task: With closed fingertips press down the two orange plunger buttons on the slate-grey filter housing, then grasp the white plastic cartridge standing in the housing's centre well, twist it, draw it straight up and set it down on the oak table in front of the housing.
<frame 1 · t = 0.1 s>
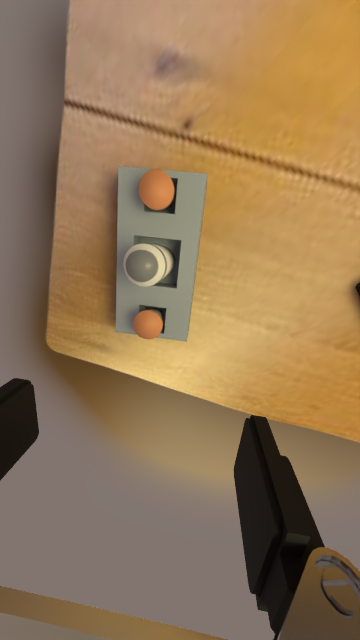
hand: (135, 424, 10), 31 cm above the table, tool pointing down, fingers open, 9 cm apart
plunger b: (151, 320, 35), point 6 cm above the table, slide at 0.0 cm
plunger a: (159, 194, 30), point 6 cm above the table, slide at 0.0 cm
cartridge: (160, 261, 37), point 1 cm above the table, touching housing
housing: (161, 260, 38), on the table
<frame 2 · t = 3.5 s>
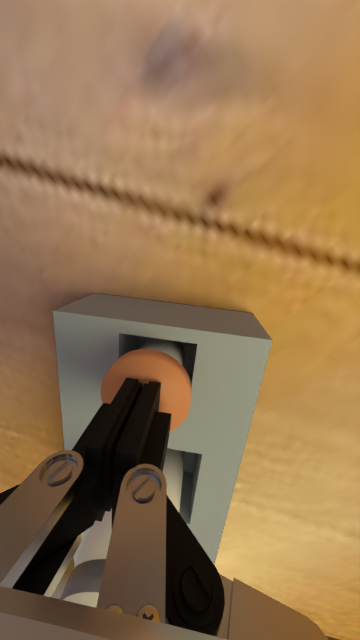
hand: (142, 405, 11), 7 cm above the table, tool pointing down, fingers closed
plunger a: (155, 371, 13), point 5 cm above the table, slide at 0.6 cm, touching gripper
cartridge: (157, 437, 20), point 1 cm above the table, touching housing
housing: (160, 428, 20), on the table
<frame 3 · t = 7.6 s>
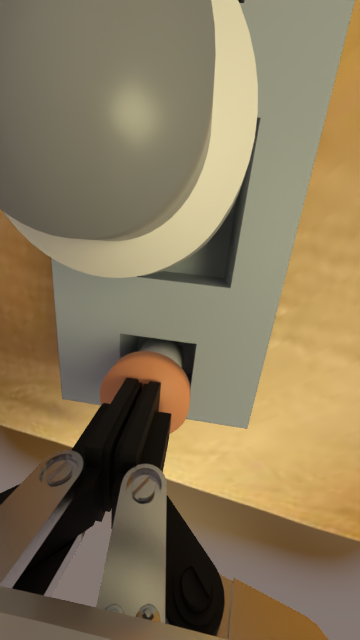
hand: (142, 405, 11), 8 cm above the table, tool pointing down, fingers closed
plunger b: (154, 373, 13), point 5 cm above the table, slide at 0.4 cm, touching gripper
cartridge: (177, 216, 14), point 1 cm above the table, touching housing
housing: (179, 218, 15), on the table
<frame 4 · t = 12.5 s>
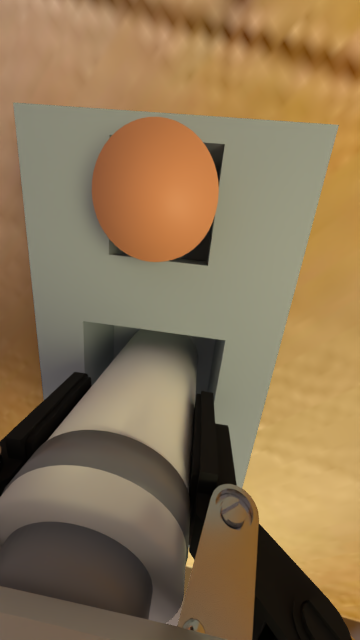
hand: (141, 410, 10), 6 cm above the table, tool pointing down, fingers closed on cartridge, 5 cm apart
plunger a: (165, 208, 10), point 4 cm above the table, slide at 1.5 cm
cartridge: (161, 357, 16), point 1 cm above the table, touching gripper, housing
housing: (164, 351, 17), on the table
when the fingers open (7 cm above the table, at t = 20.7 s): cartridge drops 1 cm, on the table.
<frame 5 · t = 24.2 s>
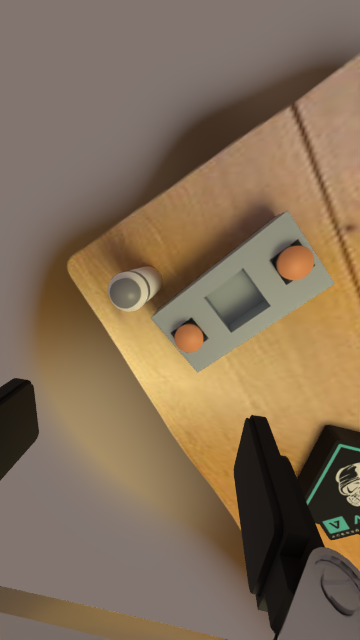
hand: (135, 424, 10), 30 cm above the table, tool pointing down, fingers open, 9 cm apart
plunger b: (189, 333, 36), point 4 cm above the table, slide at 1.5 cm
plunger a: (289, 262, 31), point 4 cm above the table, slide at 1.5 cm
cartridge: (148, 281, 38), on the table
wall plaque: (354, 474, 47), on the table
housing: (232, 295, 38), on the table
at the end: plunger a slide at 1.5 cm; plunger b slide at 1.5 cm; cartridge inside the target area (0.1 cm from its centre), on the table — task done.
